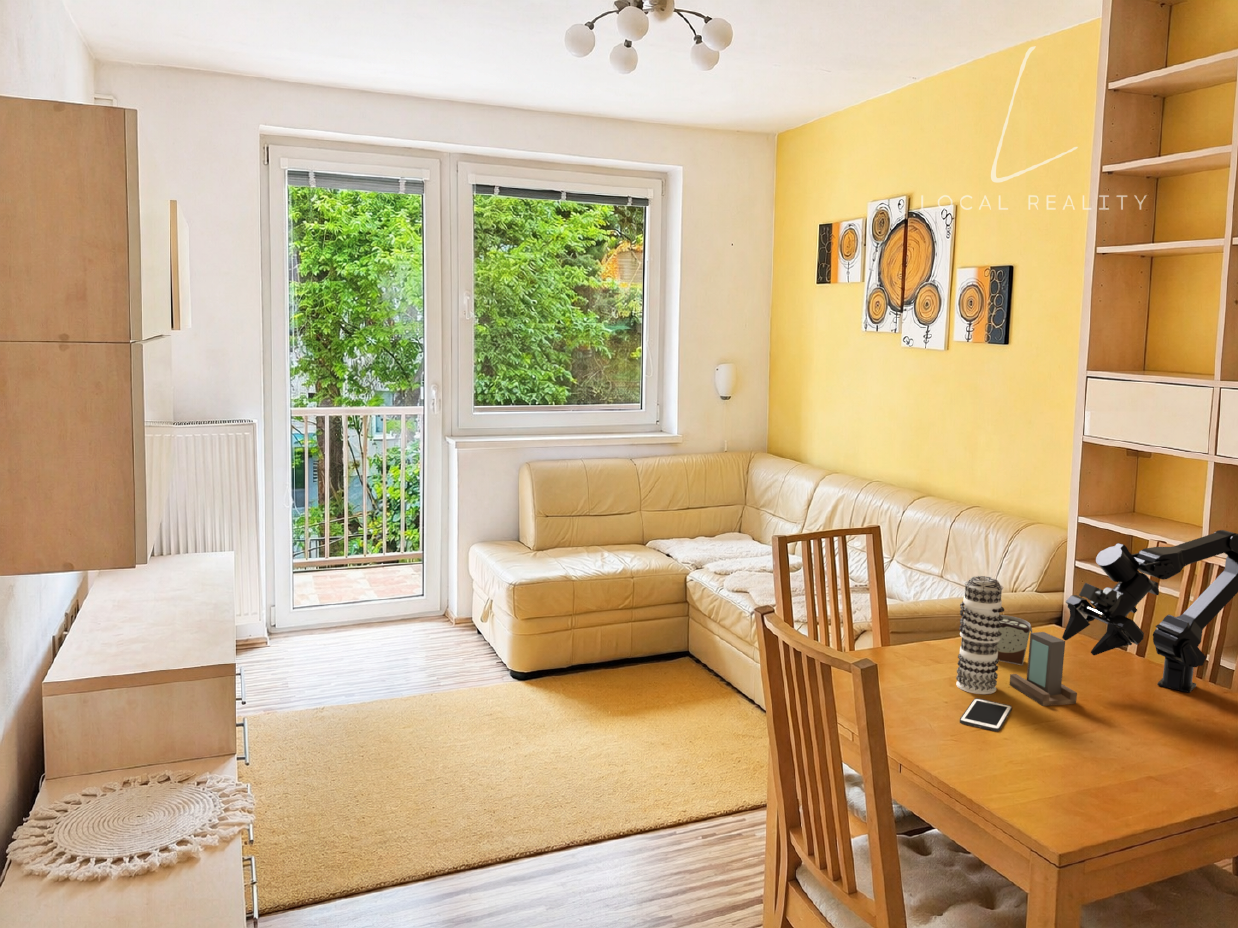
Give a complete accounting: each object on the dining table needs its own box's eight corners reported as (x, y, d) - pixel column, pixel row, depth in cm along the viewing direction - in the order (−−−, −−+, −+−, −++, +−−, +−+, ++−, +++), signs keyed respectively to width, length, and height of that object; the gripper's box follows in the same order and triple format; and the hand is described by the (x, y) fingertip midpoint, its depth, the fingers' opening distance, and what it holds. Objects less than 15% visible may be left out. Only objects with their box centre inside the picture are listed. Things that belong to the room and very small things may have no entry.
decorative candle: (987, 679, 214) (995, 573, 211) (1005, 695, 205) (1014, 584, 201) (948, 679, 214) (955, 573, 210) (964, 694, 205) (972, 584, 201)
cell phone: (958, 724, 190) (958, 719, 190) (974, 701, 202) (974, 697, 202) (998, 734, 186) (998, 729, 186) (1012, 709, 198) (1013, 705, 198)
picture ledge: (1041, 682, 212) (1042, 672, 212) (1076, 703, 201) (1077, 692, 200) (1009, 684, 211) (1010, 674, 211) (1042, 705, 199) (1043, 694, 199)
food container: (1033, 659, 228) (1037, 619, 227) (1029, 666, 223) (1032, 626, 221) (980, 649, 235) (983, 610, 233) (975, 656, 229) (978, 617, 228)
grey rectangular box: (1039, 683, 210) (1043, 631, 208) (1060, 694, 203) (1065, 641, 202) (1025, 684, 208) (1029, 633, 207) (1046, 695, 202) (1051, 642, 201)
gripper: (1076, 560, 213) (1029, 609, 213) (1137, 584, 195) (1086, 638, 195) (1103, 591, 216) (1057, 640, 215) (1165, 617, 198) (1115, 671, 197)
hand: (1077, 646), depth 206 cm, fingers open, 9 cm apart
